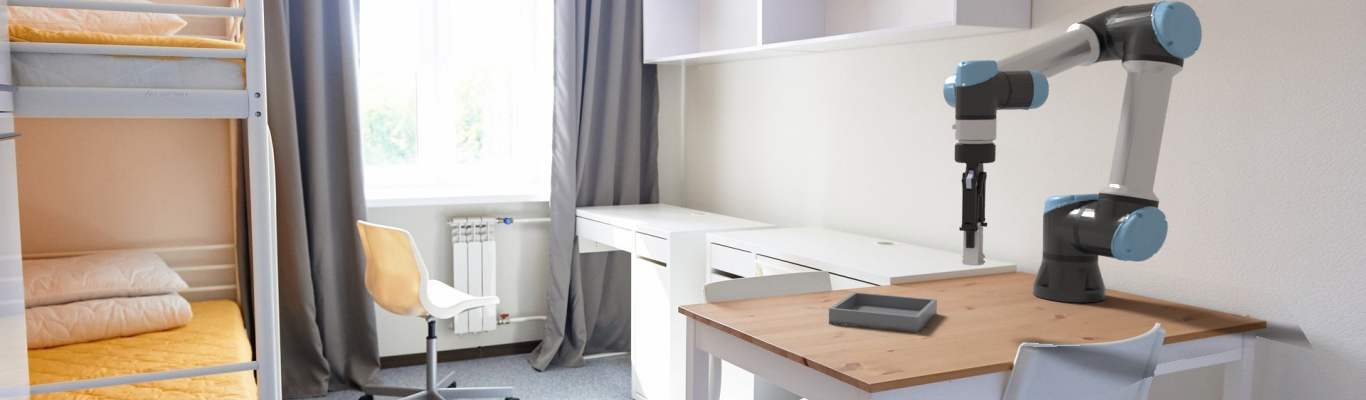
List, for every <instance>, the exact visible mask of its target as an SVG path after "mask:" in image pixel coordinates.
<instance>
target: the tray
mask: <svg viewBox="0 0 1366 400" xmlns="http://www.w3.org/2000/svg"><path fill="white" fill-rule="evenodd" d="M937 309H938V299H934V298H933V299H932V298H924V297H914V296H913V297H912V296H900V295H888V294H877V293H868V292H855V291H854V292H852V293H850V294H849V295H847V296H845V298H843V299H841V300H840V301H838V302H837V303H835V304H833V305H832V306H831V307H829V308H828V324H830V323H836V324H835V325H839V324H847V325H846V326H849V325H855V326H854V327H858V326H864V327H863V328H868V327H872V328H871V329H877V328H882V329H881V330H887V329H890V331H896V330H898V331H899V332H906V331H907V333H915V332H918V333H919V332H920V331H921V330H922V329H923V328H924V327H925V326H926V325H927V324H928V323H929V322H930V321H931V320H932V319H933V318H934V317H935V316H936V315H937V313H938V312H937ZM924 325H925V326H924ZM920 329H921V330H920Z"/></svg>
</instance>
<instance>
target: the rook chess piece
mask: <svg viewBox="0 0 1366 400" xmlns="http://www.w3.org/2000/svg"><path fill="white" fill-rule="evenodd" d="M982 229H983V230H984V227H983V228H982V226H981V223H979V222H978V230H977V231H979V252H978V265H977V266H983V265H985V263H986V261H985V260H984V259H985V258H986V256H985V253H984V250H983V251H982V249H981V243H980V237H981V235H980V231H981V230H982ZM982 252H983V253H982ZM961 257H962V258H963V253H962V255H961ZM961 262H962V263H963V259H962V260H961ZM964 265H966V264H964ZM966 266H967V265H966Z"/></svg>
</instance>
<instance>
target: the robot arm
mask: <svg viewBox="0 0 1366 400" xmlns="http://www.w3.org/2000/svg"><path fill="white" fill-rule="evenodd" d="M1202 32H1203V30H1202V25H1201V21H1200V18H1199V16H1197V12H1196V11H1195V10H1194V9H1193V8H1192V7H1191V6H1190V5H1189V4H1187V3H1185V2H1183V1H1178V0H1177V1H1175V0H1173V1H1166V0H1161V1H1158V2H1157V1H1156V2H1150V3H1149V2H1148V3H1143V4H1140V3H1139V4H1134V5H1121V6H1118V7H1114V8H1110V9H1107V10H1105V11H1103V12H1100V13H1097V14H1095V15H1092V16H1090V17H1088V18H1086V19H1084V20H1082V21H1079V22H1077V23H1074V24H1072V25H1070V26H1069V27H1068V28H1067V29H1066V30H1065V32H1064V33H1062V34H1059V35H1057V36H1055V37H1051V38H1050V39H1047V40H1045V41H1042V42H1040V43H1038V44H1036V45H1033V46H1031V47H1028V48H1026V49H1022V50H1021V51H1019V52H1016V53H1013V54H1011V55H1009V56H1006V57H1004V58H1001V59H999V60H996V61H995V60H989V59H987V60H985V59H983V60H962V61H960V62H959V63H958V64H957V66H956V70H955V73H953V74H951V75H950V76H948V78H946V80H945V82H944V84H943V89H942V92H943V97H944V100H945V102H946V104H947V105H949V106H950V107H951V108H953V109H955V111H954V113H955V115H954V116H955V121H954V122H955V124H954V123H953V124H952V126H951V129H953V130H955V133H954V140H956V141H957V143H955V144H954V161H955V163H960V164H965V171H964V172H962V175H961V181H960V182H961V187H962V194H961V195H962V196H961V197H962V198H961V200H962V201H961V202H962V205H961V225H960V226H961V227H960V226H959V229H958V230H959V231H960V232H961V231H962V232H963V243H962V244H963V249H962V251H963V252H962V254H963V257H962V260H963V262H962V264H963V265H965V264H966V266H979V265H978V252H979V231H977V230H978V222H979V223H981V226H982V228H983V229H982V230H981V231H980V235H981V237H980V243H981V249H982V251H983V252H982V253H983V254H984V248H983V247H984V227H985V228H987V227H988V222H985V221H986V185H987V183H986V182H987V178H988V177H987V171H984V170H985V169H984V164H991V163H994V162H995V161H996V153H997V152H996V151H997V149H996V146H997V145H996V144H995V143H994V141H996V140H997V121H998V120H997V111H1002V110H1003V111H1004V110H1007V111H1011V110H1013V111H1014V110H1023V111H1028V110H1034V109H1038V108H1040V107H1042V106H1043V105H1044V104H1045V103H1046V102H1047V99H1048V97H1049V93H1050V89H1049V88H1050V84H1049V81H1048V78H1051V77H1054V76H1056V75H1059V74H1061V73H1064V72H1065V71H1068V70H1071V69H1073V68H1076V67H1078V66H1080V67H1089V66H1091V65H1094V64H1096V63H1101V62H1113V61H1121V67H1122V68H1123V69H1124V70H1125V71H1126V73H1127V76H1126V82H1125V86H1124V91H1123V92H1124V93H1123V98H1122V105H1121V109H1120V110H1121V111H1120V114H1119V121H1118V127H1117V133H1116V138H1115V143H1114V150H1113V155H1112V162H1111V166H1110V167H1111V168H1110V174H1109V178H1108V184H1107V185H1106V186H1105V187H1104V188H1102V189H1101V190H1099V192H1098V193H1084V194H1065V195H1063V194H1062V195H1061V194H1060V195H1051V196H1048V197H1047V198H1046V199H1045V201H1044V208H1043V209H1044V210H1043V213H1042V217H1043V218H1042V219H1043V221H1042V258H1041V259H1042V260H1041V263H1040V265H1039V268H1038V271H1037V273H1036V276H1035V277H1034V278H1035V279H1034V281H1033V284H1032V294H1033V295H1034V296H1036V297H1038V298H1041V299H1045V300H1050V301H1056V302H1064V303H1097V302H1101V301H1104V300H1105V299H1106V290H1107V289H1106V286H1105V282H1104V280H1103V276H1102V272H1101V270H1100V269H1101V268H1100V265H1099V256H1100V257H1106V258H1111V259H1116V260H1118V261H1123V262H1128V261H1129V262H1144V261H1147V260H1149V259H1151V258H1152V257H1153V256H1154V255H1155V254H1157V253H1158V252H1159V251H1160V249H1162V247H1163V245H1164V244H1165V241H1166V239H1167V235H1168V229H1169V228H1168V227H1169V224H1168V221H1167V220H1166V219H1167V217H1166V214H1165V213H1164V212H1163V211H1162V210H1160V209H1159V203H1160V199H1159V198H1158V197H1157V195H1156V193H1155V192H1154V185H1155V180H1156V174H1157V169H1158V164H1159V158H1160V152H1161V146H1162V141H1163V135H1164V128H1165V123H1166V117H1167V113H1168V106H1169V101H1170V94H1171V91H1172V90H1171V89H1172V83H1173V79H1174V76H1176V75H1178V74H1179V73H1180V72H1182V71H1183V69H1184V62H1185V59H1189V58H1190V57H1193V55H1195V53H1196V52H1197V51H1198V50H1199V48H1200V46H1201V43H1202V37H1203V33H1202Z"/></svg>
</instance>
